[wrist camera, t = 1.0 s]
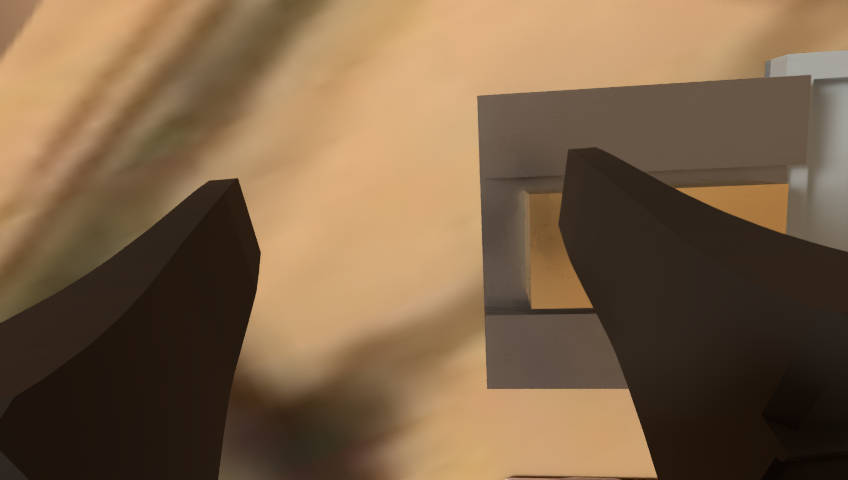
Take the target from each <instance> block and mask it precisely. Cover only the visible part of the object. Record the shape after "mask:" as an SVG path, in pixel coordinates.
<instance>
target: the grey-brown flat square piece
mask: <svg viewBox="0 0 848 480" xmlns="http://www.w3.org/2000/svg"><path fill="white" fill-rule="evenodd" d="M810 87H811V75H800V76H784V77H768V78H752V79H736V80H721V81H705V82H689V83H673V84H657V85H642V86H626V87H610V88H594V89H578V90H563V91H547V92H531V93H515V94H499V95H484V96H477V98H478V128H479V158H480V185H481V215H482V245H483V275H484V304H485V336H486V366H487V389H629V388H628V386H627V383H626V380H625V377H624V375H623V372H622V369H621V367H620V364H619V361H618V358H617V356H616V353H615V351H614V349H613V347H612V344H611V342H610V340H609V338H608V336H607V334H606V332H605V330H604V328H603V326H602V324H601V322H600V320H599V318H598V316H597V314H596V312H595V310H594V308H559V309H531V306H530V303H529V299H528V296H527V293H526V252H525V204H524V190H541V189H563V185H564V177H565V170H566V162H567V154H568V149H579V148H591V147H597V148H599V149H601V150H604V151H606V152H608V153H610V154H612V155H614V156H616V157H618V158H619V159H621V160H623V161H625V162H627V163H629V164H630V165H632V166H634V167H636V168H638V169H639V170H641V171H643V172H645V173H647V174H649V175H650V176H652V177H654V178H656V179H658V180H660V181H661V182H663V183H665V184H681V183H705V182H728V181H751V180H756V181H766V182H777V183H786V180H787V165H799V164H806V153H807V137H808V120H809V104H810Z"/></svg>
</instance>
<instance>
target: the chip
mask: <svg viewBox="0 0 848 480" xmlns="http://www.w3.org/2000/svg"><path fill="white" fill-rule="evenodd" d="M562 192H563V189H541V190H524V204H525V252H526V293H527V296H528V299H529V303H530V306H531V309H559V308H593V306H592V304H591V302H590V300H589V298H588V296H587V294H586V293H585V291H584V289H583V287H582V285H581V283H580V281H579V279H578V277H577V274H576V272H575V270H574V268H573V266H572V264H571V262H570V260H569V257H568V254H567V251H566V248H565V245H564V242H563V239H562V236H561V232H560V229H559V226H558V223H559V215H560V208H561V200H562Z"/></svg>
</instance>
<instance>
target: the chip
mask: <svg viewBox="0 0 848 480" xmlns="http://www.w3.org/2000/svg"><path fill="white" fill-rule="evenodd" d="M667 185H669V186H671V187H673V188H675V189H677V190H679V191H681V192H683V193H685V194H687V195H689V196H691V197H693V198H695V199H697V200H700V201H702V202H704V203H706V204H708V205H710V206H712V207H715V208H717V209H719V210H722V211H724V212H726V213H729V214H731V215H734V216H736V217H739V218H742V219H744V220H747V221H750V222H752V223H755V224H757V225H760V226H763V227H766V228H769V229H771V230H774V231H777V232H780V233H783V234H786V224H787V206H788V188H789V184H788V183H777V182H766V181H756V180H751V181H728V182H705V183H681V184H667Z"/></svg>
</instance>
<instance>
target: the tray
mask: <svg viewBox="0 0 848 480" xmlns="http://www.w3.org/2000/svg"><path fill="white" fill-rule="evenodd" d="M800 75H811V87H810V104H809V120H808V137H807V153H806V164H799V165H787V180H786V183H788V184H789V188H788V206H787V224H786V234H787V235H790V236H793V237H797V238H800V239H803V240H807V241H810V242H813V243H817V244H820V245H824V246H827V247H831V248H835V249H839V250H843V251H847V252H848V50H842V51H828V52H813V53H798V54H787V55H784V56H781V57H778V58H774V59H771V60H768V61H766V66H765V78H768V77H784V76H800Z"/></svg>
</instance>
